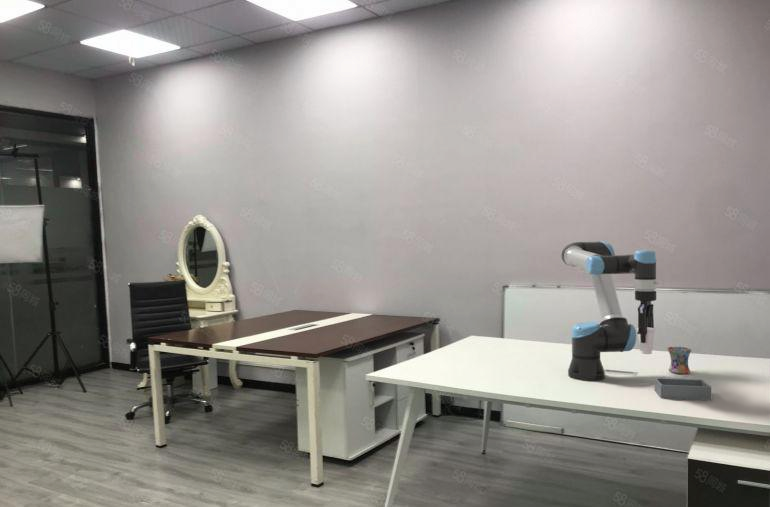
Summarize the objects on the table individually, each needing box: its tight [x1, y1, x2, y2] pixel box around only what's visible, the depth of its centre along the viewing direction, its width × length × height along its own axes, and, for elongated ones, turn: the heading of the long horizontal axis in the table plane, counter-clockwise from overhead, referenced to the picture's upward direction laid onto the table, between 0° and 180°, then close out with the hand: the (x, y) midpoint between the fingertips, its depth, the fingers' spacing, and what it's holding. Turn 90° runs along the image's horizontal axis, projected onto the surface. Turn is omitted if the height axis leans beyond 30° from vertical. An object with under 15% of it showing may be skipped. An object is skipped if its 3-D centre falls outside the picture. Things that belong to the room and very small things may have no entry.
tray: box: [653, 377, 712, 401], centre depth 213 cm, size 17×10×5 cm, turn 77°
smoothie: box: [636, 327, 656, 355], centre depth 216 cm, size 6×6×14 cm
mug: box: [667, 346, 692, 375], centre depth 246 cm, size 12×9×11 cm
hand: (646, 349), depth 216 cm, fingers closed on smoothie, 6 cm apart
